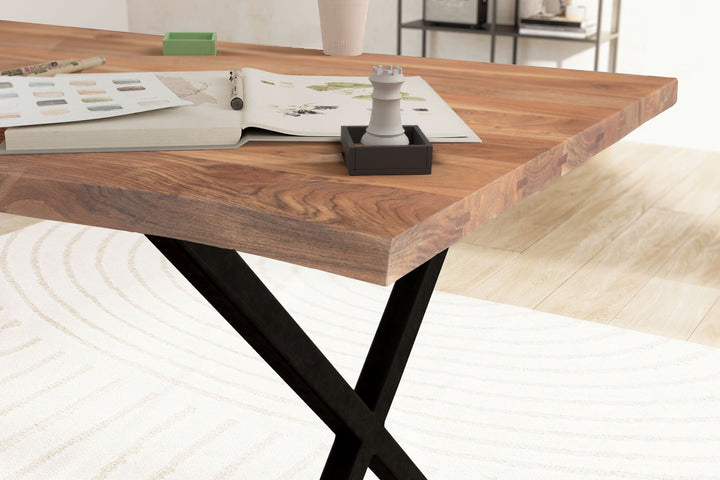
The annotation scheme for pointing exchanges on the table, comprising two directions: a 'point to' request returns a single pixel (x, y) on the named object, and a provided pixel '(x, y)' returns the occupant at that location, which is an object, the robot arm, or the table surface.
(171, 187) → the table surface
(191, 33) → the green tray
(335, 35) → the dixie cup
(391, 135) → the rook chess piece
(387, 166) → the dark tray
